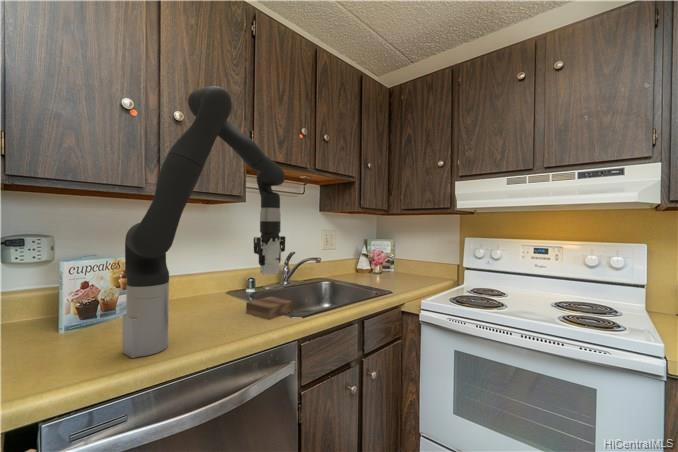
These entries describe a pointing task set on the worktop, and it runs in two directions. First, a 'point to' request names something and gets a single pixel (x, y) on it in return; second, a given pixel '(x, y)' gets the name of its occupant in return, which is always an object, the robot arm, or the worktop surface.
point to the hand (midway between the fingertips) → (269, 264)
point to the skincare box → (271, 259)
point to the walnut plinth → (269, 307)
